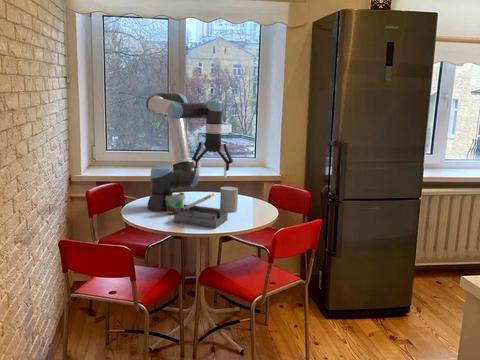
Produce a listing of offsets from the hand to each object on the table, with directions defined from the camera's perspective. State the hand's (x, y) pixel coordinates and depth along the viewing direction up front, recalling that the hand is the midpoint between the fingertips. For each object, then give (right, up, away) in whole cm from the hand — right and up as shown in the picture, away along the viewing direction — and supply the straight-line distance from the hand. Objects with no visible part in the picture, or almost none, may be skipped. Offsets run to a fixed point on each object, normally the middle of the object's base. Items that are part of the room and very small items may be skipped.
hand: (211, 175), depth 234 cm
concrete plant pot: (+8, -19, +26) cm, 33 cm away
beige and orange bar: (-7, -14, +2) cm, 15 cm away
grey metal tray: (-6, -23, +3) cm, 23 cm away
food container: (-19, -20, +16) cm, 32 cm away
